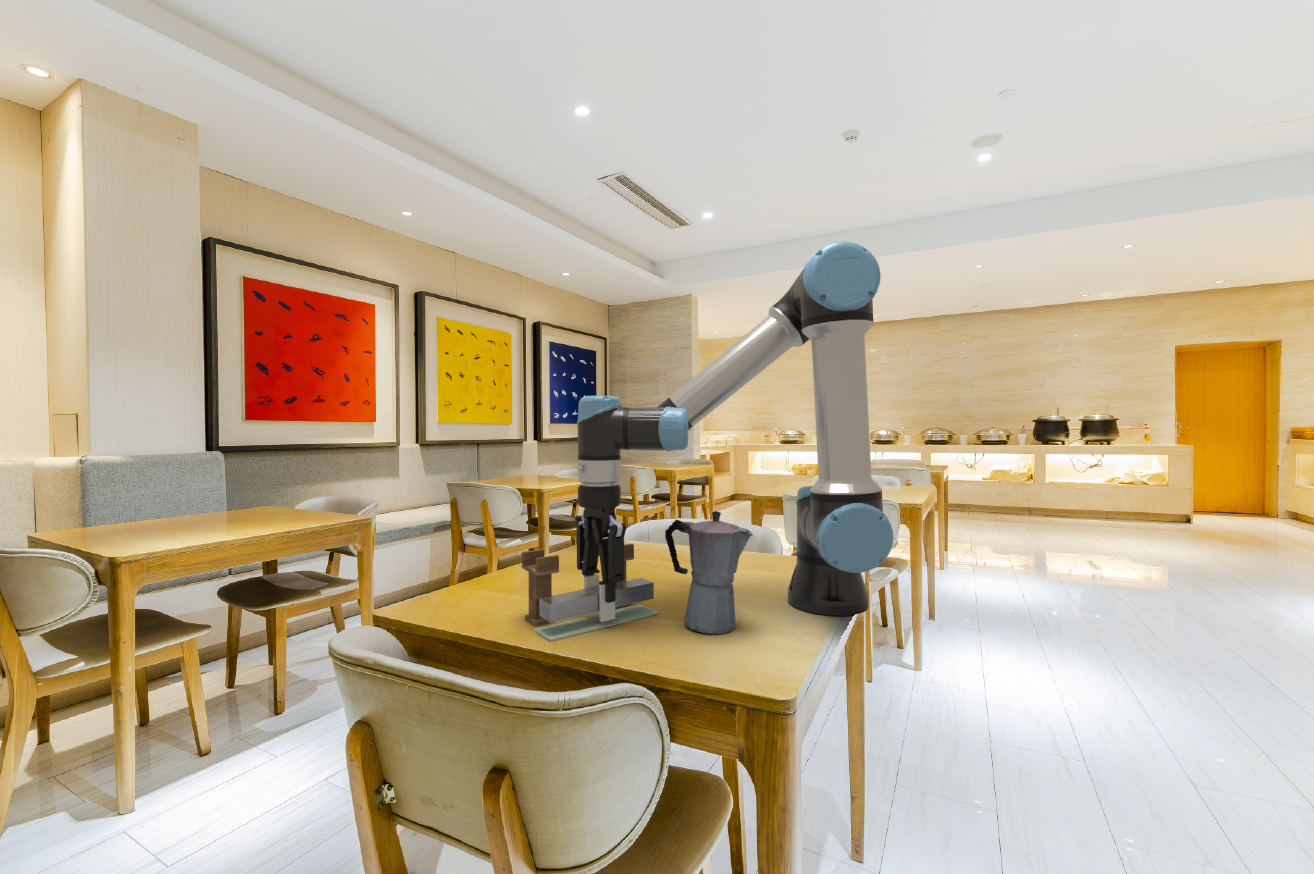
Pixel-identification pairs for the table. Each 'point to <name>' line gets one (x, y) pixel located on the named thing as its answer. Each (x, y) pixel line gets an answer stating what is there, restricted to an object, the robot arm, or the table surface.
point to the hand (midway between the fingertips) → (599, 615)
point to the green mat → (593, 623)
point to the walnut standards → (549, 578)
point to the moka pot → (710, 571)
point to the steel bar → (593, 600)
